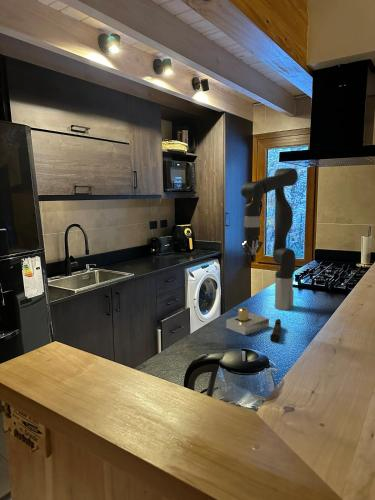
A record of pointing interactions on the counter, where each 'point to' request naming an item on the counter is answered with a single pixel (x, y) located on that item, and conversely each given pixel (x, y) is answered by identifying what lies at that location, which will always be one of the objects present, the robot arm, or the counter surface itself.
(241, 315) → the bushing
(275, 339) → the hand tool
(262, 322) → the block
